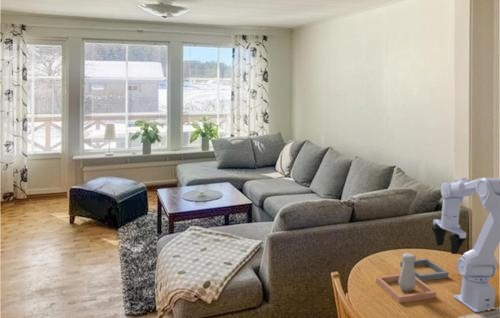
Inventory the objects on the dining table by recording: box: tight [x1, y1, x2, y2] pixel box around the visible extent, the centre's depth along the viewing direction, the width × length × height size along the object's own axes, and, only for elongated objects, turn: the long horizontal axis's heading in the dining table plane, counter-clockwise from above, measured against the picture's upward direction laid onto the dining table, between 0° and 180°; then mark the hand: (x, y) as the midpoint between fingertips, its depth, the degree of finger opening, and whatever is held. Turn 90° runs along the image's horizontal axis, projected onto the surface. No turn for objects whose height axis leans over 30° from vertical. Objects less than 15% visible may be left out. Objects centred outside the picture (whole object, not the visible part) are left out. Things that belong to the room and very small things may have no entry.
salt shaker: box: [397, 252, 417, 293], centre depth 132 cm, size 6×6×13 cm
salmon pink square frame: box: [375, 273, 437, 304], centre depth 133 cm, size 14×14×2 cm
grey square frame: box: [400, 258, 449, 282], centre depth 146 cm, size 12×12×2 cm
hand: (446, 249), depth 141 cm, fingers open, 7 cm apart
